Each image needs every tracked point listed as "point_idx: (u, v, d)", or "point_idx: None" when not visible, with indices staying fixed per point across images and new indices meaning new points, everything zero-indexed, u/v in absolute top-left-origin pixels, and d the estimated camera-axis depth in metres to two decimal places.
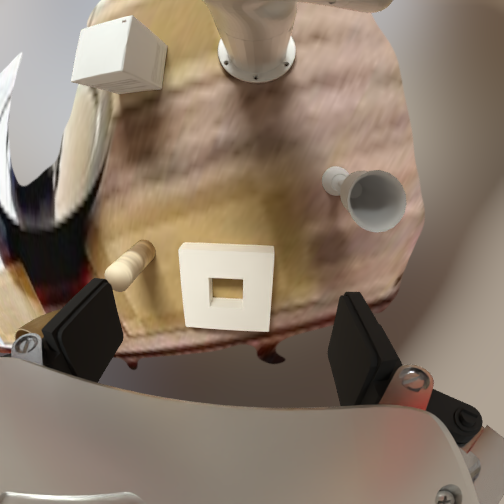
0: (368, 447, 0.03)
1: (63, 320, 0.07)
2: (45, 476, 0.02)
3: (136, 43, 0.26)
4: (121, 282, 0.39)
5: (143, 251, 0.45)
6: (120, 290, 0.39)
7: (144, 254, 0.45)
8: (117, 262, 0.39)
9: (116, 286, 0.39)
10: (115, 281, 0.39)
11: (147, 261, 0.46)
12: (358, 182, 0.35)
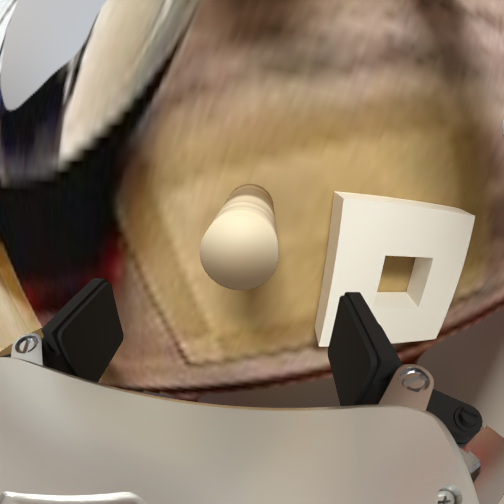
0: (368, 447, 0.03)
1: (63, 320, 0.07)
2: (45, 476, 0.02)
3: None
4: (253, 264, 0.15)
5: (267, 200, 0.22)
6: (244, 286, 0.16)
7: (271, 206, 0.22)
8: (239, 211, 0.16)
9: (232, 276, 0.16)
10: (233, 262, 0.15)
11: None
12: None
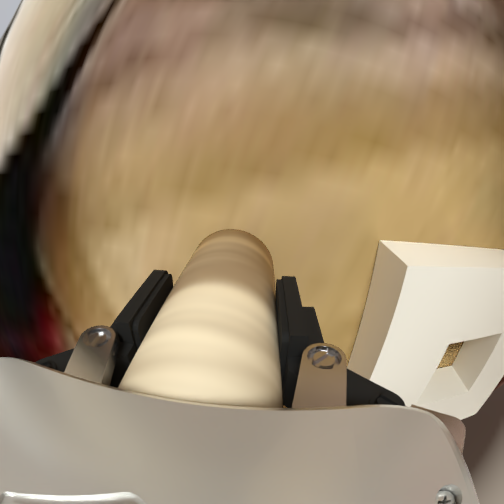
0: (368, 447, 0.03)
1: (137, 310, 0.08)
2: (45, 476, 0.02)
3: None
4: None
5: (263, 277, 0.11)
6: None
7: (270, 292, 0.10)
8: None
9: None
10: None
11: None
12: None
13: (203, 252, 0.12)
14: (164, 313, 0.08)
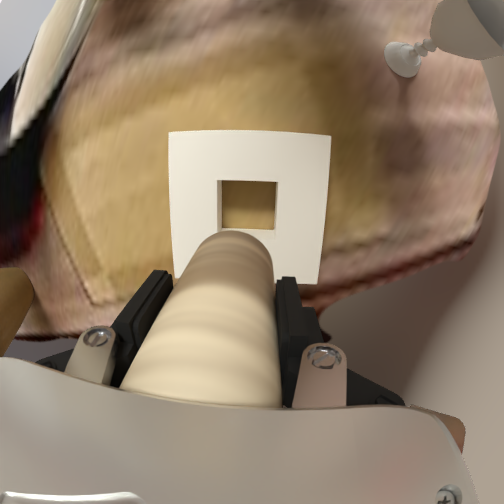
0: (368, 447, 0.03)
1: (137, 310, 0.08)
2: (45, 476, 0.02)
3: None
4: None
5: (263, 278, 0.11)
6: None
7: (270, 293, 0.10)
8: None
9: None
10: None
11: None
12: None
13: (203, 253, 0.12)
14: (164, 315, 0.08)
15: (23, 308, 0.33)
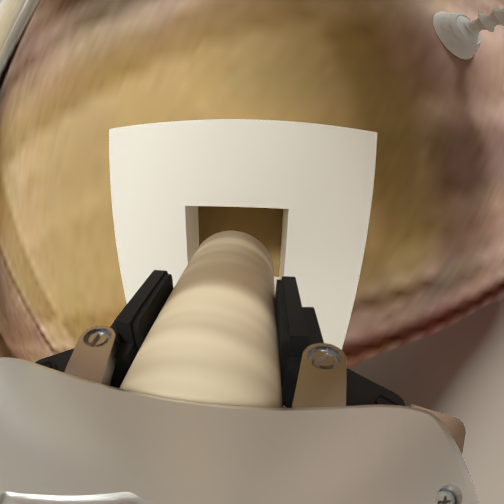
0: (368, 447, 0.03)
1: (137, 310, 0.08)
2: (45, 476, 0.02)
3: None
4: None
5: (263, 278, 0.11)
6: None
7: (270, 294, 0.10)
8: None
9: None
10: None
11: None
12: None
13: (203, 253, 0.12)
14: (164, 315, 0.08)
15: None
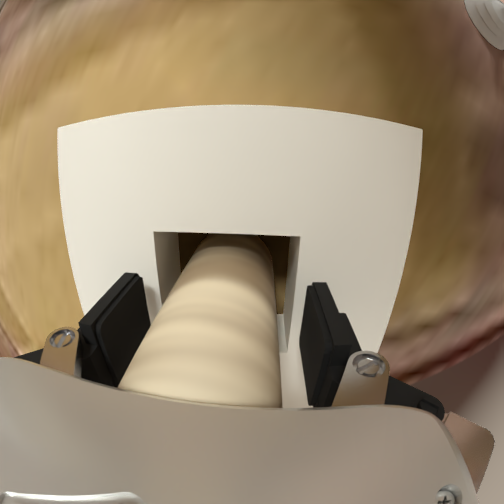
0: (368, 447, 0.03)
1: (101, 313, 0.08)
2: (45, 476, 0.02)
3: None
4: None
5: (263, 274, 0.11)
6: None
7: (270, 289, 0.11)
8: (172, 391, 0.04)
9: None
10: None
11: None
12: None
13: (204, 250, 0.12)
14: (166, 308, 0.08)
15: None
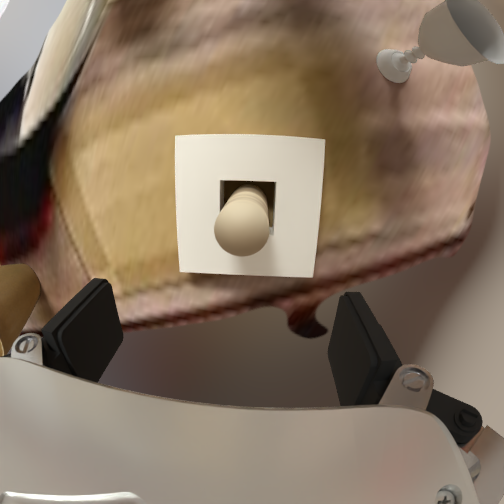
0: (368, 447, 0.03)
1: (63, 320, 0.07)
2: (45, 476, 0.02)
3: None
4: (251, 237, 0.22)
5: (262, 195, 0.29)
6: (245, 253, 0.23)
7: (265, 200, 0.28)
8: (242, 200, 0.22)
9: (237, 245, 0.22)
10: (237, 235, 0.22)
11: None
12: None
13: (239, 189, 0.30)
14: (231, 197, 0.26)
15: (30, 303, 0.35)
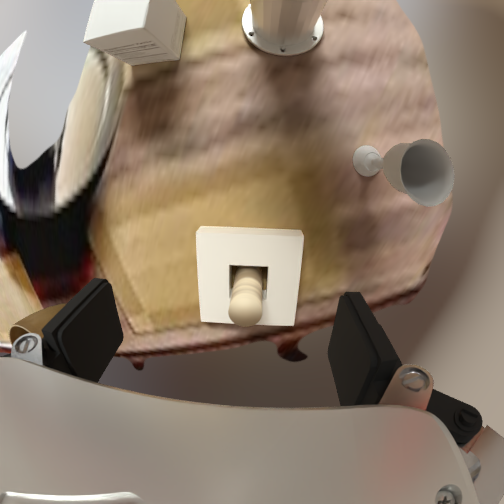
0: (368, 447, 0.03)
1: (63, 320, 0.07)
2: (45, 476, 0.02)
3: (158, 3, 0.21)
4: (251, 316, 0.36)
5: (258, 276, 0.42)
6: (247, 325, 0.36)
7: (260, 280, 0.42)
8: (245, 293, 0.36)
9: (242, 321, 0.36)
10: (242, 316, 0.36)
11: None
12: None
13: (242, 269, 0.43)
14: (238, 283, 0.39)
15: None
